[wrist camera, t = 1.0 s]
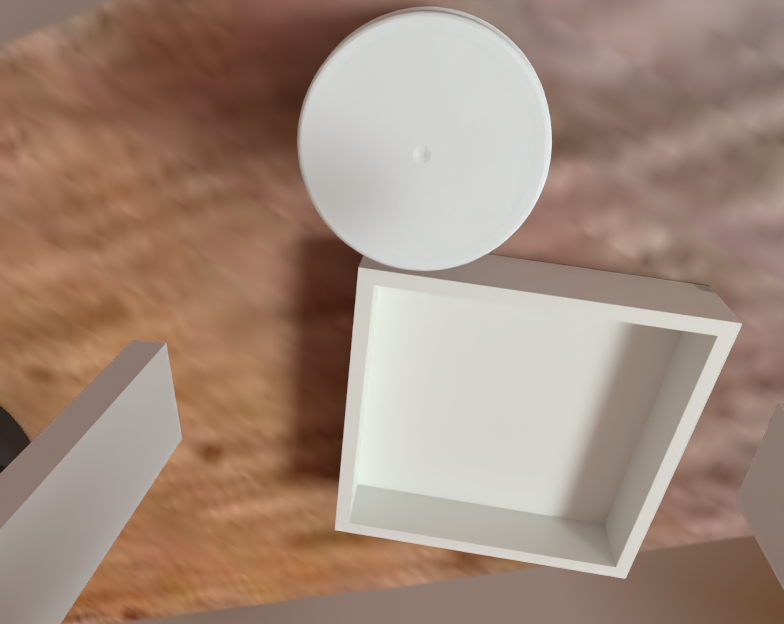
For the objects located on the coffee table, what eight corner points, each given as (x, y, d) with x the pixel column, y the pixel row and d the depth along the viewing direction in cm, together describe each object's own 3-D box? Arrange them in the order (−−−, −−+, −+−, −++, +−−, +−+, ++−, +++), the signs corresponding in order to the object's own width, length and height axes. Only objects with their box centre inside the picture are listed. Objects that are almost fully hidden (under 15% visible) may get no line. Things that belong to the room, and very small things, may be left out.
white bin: (346, 482, 49) (334, 529, 44) (370, 237, 38) (358, 267, 34) (610, 525, 48) (625, 578, 43) (709, 285, 37) (742, 323, 33)
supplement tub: (395, 204, 37) (359, 311, 24) (325, 57, 33) (236, 90, 20) (543, 140, 34) (592, 222, 21) (483, -28, 31) (498, -53, 18)
